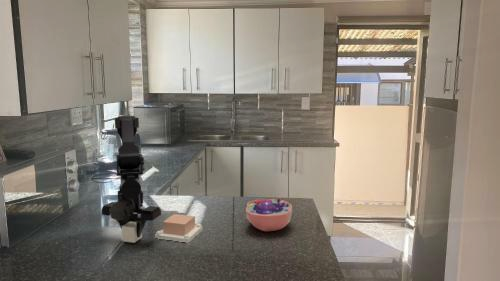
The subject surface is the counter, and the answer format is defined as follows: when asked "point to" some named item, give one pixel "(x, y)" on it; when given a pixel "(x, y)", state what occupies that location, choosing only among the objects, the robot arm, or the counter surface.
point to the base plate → (180, 238)
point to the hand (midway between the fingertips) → (132, 236)
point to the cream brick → (130, 232)
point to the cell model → (269, 214)
